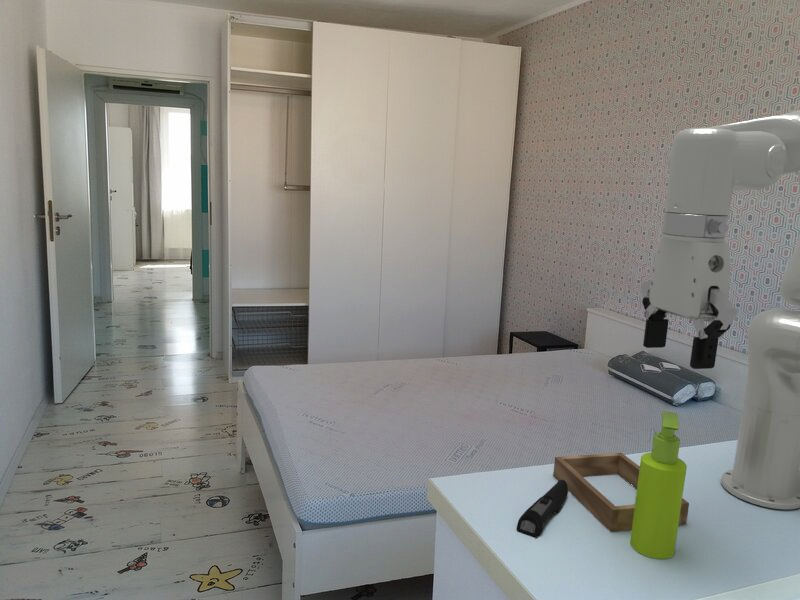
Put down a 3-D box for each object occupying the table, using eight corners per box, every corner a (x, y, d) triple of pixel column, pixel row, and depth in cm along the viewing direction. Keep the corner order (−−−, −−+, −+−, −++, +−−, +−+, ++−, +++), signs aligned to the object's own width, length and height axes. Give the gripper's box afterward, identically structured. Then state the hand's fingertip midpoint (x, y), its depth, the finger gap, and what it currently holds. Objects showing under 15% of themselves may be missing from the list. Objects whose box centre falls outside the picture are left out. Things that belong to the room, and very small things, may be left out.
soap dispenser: (629, 556, 88) (647, 420, 84) (630, 531, 94) (646, 403, 90) (675, 567, 86) (696, 427, 82) (673, 541, 92) (691, 410, 88)
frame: (619, 470, 114) (621, 452, 113) (686, 524, 97) (689, 503, 96) (553, 475, 111) (555, 457, 110) (610, 531, 94) (613, 510, 93)
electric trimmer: (573, 500, 104) (575, 482, 103) (538, 541, 91) (540, 520, 90) (551, 493, 106) (553, 475, 105) (513, 532, 93) (515, 512, 92)
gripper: (771, 235, 74) (749, 376, 77) (675, 223, 90) (660, 339, 94) (717, 234, 72) (696, 378, 75) (628, 222, 89) (615, 340, 92)
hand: (676, 357), depth 85 cm, fingers open, 9 cm apart
